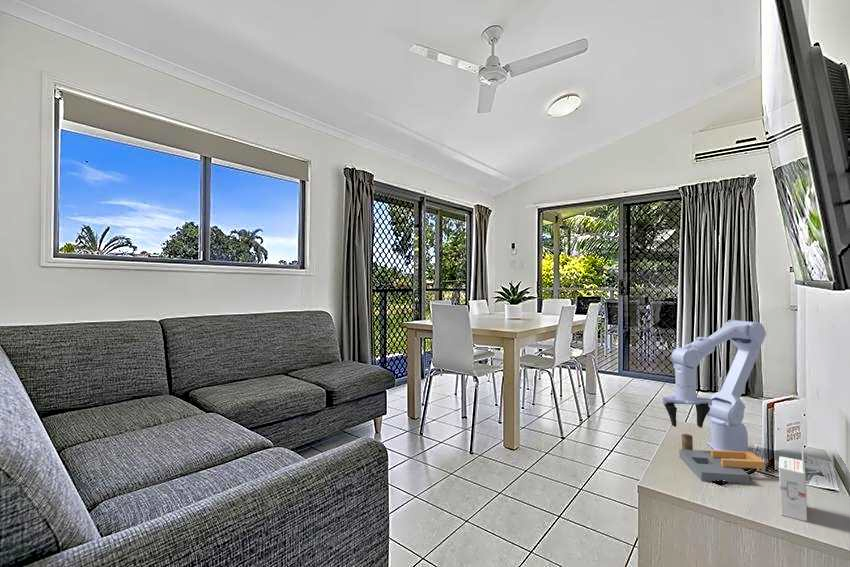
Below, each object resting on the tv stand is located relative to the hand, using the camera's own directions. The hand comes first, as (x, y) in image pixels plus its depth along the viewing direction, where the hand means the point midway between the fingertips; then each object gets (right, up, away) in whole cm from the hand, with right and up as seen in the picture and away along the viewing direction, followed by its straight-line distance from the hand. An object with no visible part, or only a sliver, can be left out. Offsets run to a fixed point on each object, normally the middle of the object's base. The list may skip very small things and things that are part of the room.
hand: (686, 426), depth 135 cm
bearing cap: (+7, -6, -13) cm, 16 cm away
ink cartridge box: (+5, -10, -34) cm, 35 cm away
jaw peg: (0, -9, 0) cm, 9 cm away
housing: (0, -9, -11) cm, 14 cm away
